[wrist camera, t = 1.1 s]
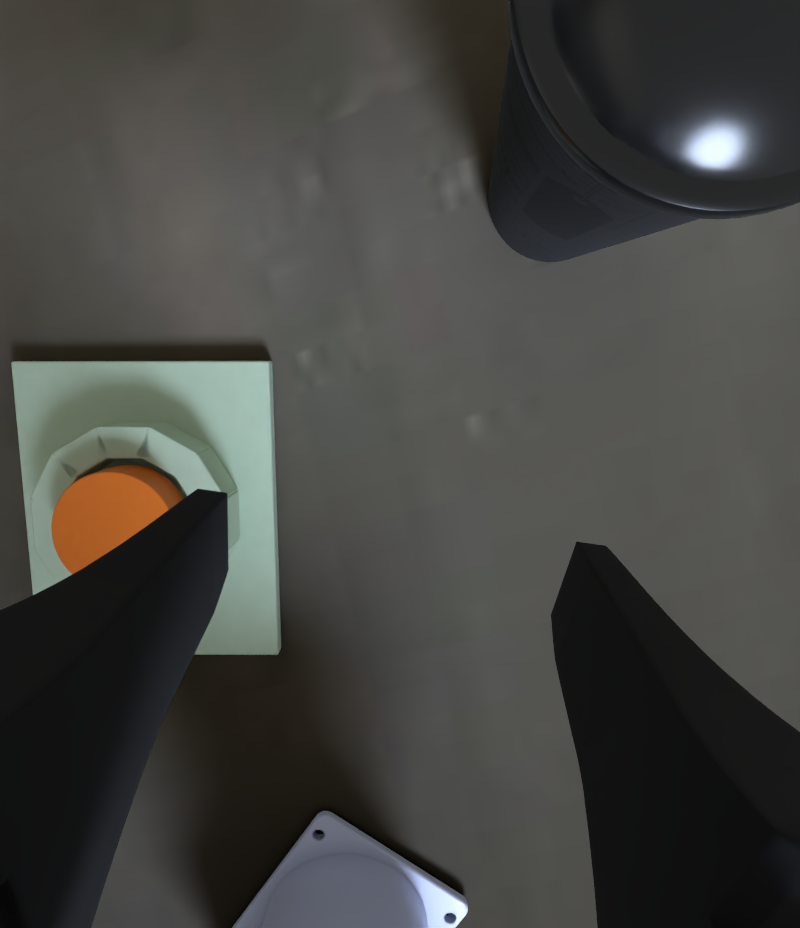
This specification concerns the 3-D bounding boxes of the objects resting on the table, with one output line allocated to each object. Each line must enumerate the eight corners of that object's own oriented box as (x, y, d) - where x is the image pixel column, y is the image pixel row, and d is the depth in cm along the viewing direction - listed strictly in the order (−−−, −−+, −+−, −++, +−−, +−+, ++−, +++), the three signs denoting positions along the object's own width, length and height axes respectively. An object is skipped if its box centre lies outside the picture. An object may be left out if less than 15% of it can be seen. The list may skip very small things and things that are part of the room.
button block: (281, 648, 26) (268, 676, 24) (47, 647, 27) (10, 675, 24) (272, 361, 25) (257, 360, 22) (21, 361, 25) (-22, 360, 22)
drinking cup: (668, 276, 24) (1893, -157, 4) (472, 318, 24) (755, 101, 5) (638, 65, 23) (2111, -1867, 3) (433, 112, 23) (586, -1369, 3)
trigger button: (194, 578, 24) (178, 593, 22) (79, 577, 24) (56, 593, 22) (188, 464, 23) (172, 471, 22) (70, 464, 23) (45, 471, 22)
